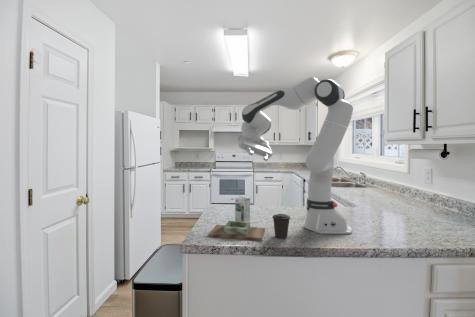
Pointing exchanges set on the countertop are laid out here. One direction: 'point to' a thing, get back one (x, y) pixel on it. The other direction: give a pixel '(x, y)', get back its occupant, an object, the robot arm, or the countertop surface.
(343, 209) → the countertop surface
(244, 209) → the syrup box
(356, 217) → the countertop surface
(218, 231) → the collar stand
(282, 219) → the coffee cup
